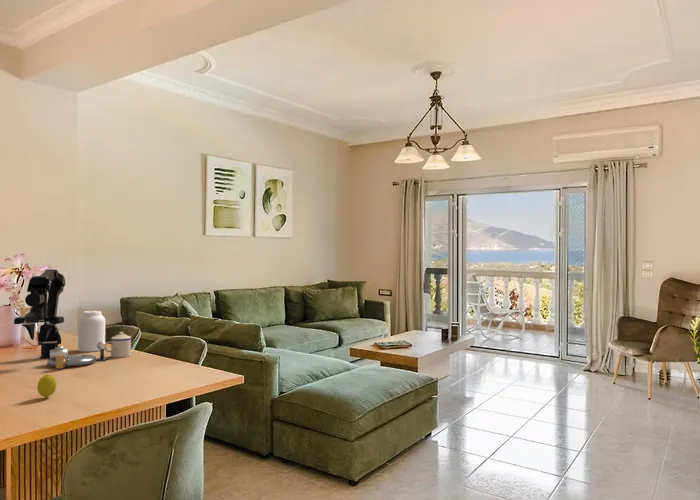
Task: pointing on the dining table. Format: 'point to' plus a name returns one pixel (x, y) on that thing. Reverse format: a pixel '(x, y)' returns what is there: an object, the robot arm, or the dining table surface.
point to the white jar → (90, 331)
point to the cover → (58, 352)
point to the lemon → (46, 386)
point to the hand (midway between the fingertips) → (39, 339)
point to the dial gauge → (101, 351)
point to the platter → (71, 360)
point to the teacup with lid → (120, 346)
